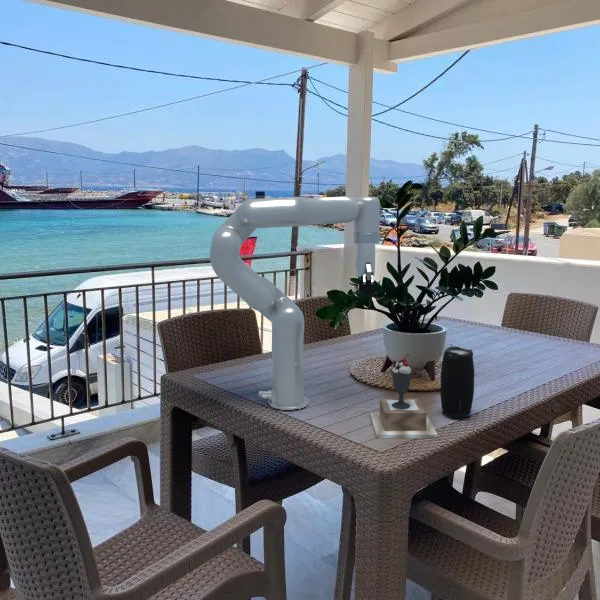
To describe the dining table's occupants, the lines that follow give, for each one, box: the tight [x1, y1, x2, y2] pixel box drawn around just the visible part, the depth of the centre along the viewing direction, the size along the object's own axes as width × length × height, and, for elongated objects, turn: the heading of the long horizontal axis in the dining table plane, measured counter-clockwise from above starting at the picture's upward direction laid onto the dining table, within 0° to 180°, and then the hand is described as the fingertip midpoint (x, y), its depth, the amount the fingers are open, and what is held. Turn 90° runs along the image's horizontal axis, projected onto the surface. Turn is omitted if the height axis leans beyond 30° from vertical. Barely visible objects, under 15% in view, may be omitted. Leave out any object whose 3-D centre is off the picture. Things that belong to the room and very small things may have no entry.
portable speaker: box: [440, 345, 475, 421], centre depth 164 cm, size 9×9×20 cm
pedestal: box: [369, 398, 439, 439], centre depth 157 cm, size 16×16×6 cm
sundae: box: [388, 353, 415, 409], centre depth 155 cm, size 7×7×15 cm
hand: (366, 294), depth 174 cm, fingers open, 9 cm apart
